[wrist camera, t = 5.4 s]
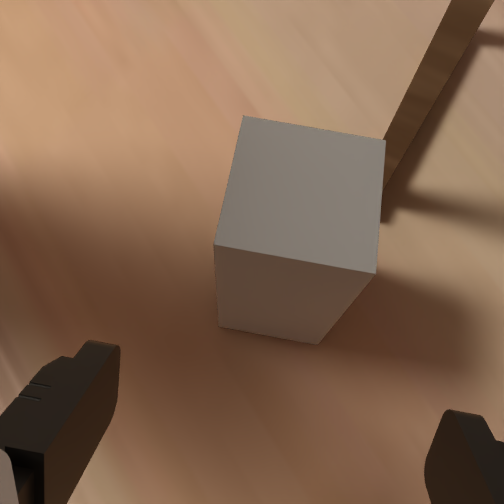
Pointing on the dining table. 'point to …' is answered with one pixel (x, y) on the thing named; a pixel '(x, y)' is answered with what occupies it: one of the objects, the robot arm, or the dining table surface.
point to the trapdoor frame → (432, 76)
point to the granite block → (297, 228)
